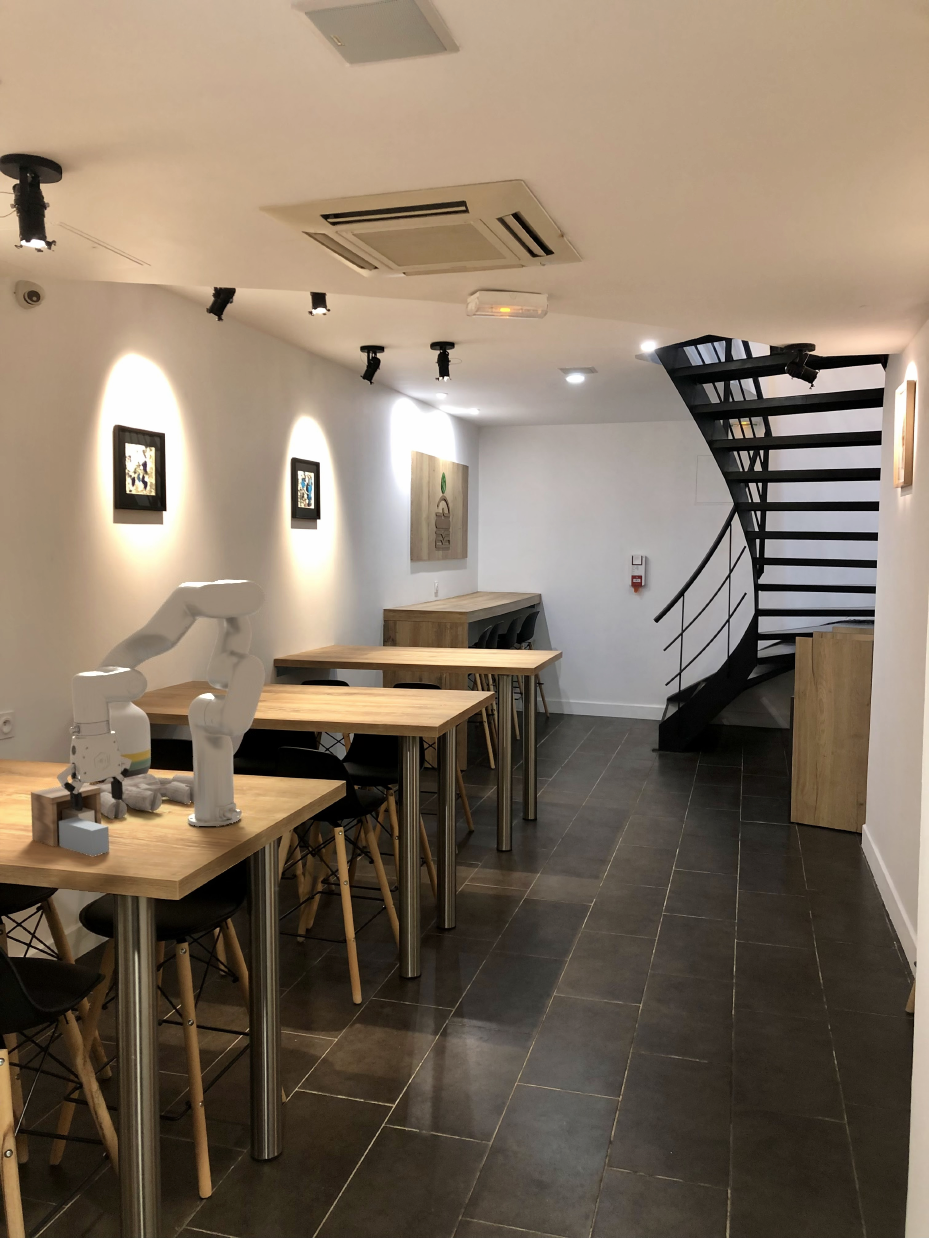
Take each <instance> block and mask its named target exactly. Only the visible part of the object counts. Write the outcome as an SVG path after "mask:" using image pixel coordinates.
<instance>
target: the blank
mask: <svg viewBox="0 0 929 1238" xmlns="http://www.w3.org/2000/svg"><path fill="white" fill-rule="evenodd" d="M109 832H110V831H109V826H108V825H105V824H102V823H101V824H98V823H94V822H91V821H87V820H84V819H80V818H76V817H74V818H70V819H66V820H61V821H59V835H58V839H59V840H58V841H59V842H58V844H59V847H60V846H61V848H63V847H64V848H63V849H66V848H67V849H66V850H69V849H71V850H70V851H72V850H73V851H72V852H75V851H77V852H76V853H78V852H80V853H79V854H82V853H85V854H87V855H86V856H88V855H91V856H95V855H98V854H101V853H105V854H107V853H106V852H109V853H110V839H109V838H110V835H109ZM85 854H84V855H85ZM91 856H90V857H91ZM98 856H99V855H98ZM95 857H96V856H95Z"/></svg>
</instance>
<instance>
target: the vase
mask: <svg viewBox="0 0 929 1238" xmlns="http://www.w3.org/2000/svg"><path fill="white" fill-rule="evenodd" d="M110 719H111V731H114V732H115V734H116V737H117V741H118V745H119V750H120V756H121V757H124V758H127V759H130V760H131V764H130V767H129V769H128V770H129V772H128V773H127V775H126V776H125V778H127V777H132V776H137V775H141V774H147V773H148V774H149V770H150V768H151V759H152V758H151V757H152V756H151V753H152V752H151V749H152V748H151V724H150V719H149V717H148V714H147V713H146V712H145V711H144V710H143V709H141V708H140V707H138V706H137V705H135V704H134V703H133V701H130V702H111V703H110ZM121 765H122V763H121ZM106 780H107V779H104V780H100V781H99V782H101V783H104V782H105V781H106Z"/></svg>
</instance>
